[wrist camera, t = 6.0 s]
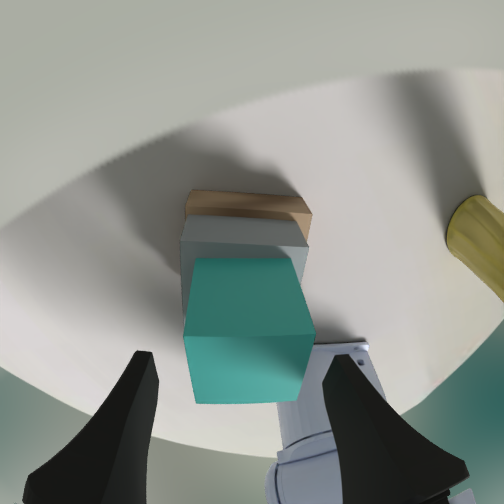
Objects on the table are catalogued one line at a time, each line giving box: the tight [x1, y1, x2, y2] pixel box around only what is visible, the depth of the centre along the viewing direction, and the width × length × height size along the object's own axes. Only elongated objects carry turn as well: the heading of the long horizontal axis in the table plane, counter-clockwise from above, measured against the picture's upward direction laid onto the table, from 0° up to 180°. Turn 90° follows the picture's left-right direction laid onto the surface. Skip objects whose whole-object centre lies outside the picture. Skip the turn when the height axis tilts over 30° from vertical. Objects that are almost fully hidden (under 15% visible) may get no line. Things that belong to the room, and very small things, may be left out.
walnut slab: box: [185, 190, 312, 242], centre depth 19 cm, size 7×7×3 cm
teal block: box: [183, 258, 316, 404], centre depth 13 cm, size 4×4×5 cm
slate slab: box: [180, 214, 309, 327], centre depth 16 cm, size 6×6×3 cm
